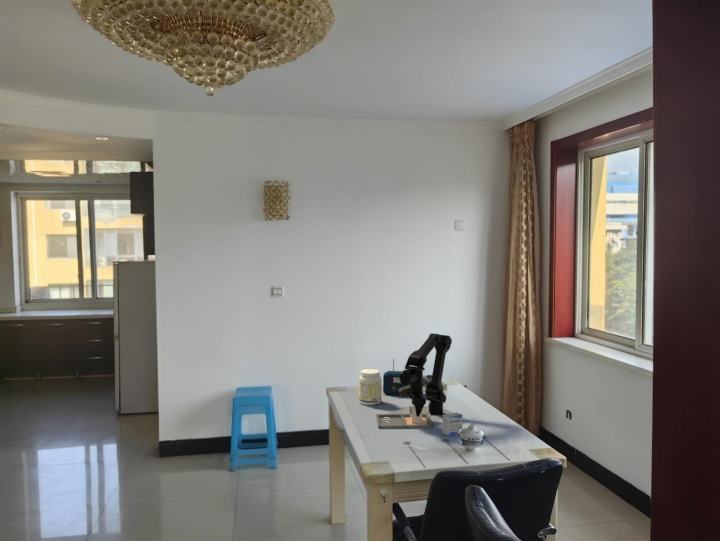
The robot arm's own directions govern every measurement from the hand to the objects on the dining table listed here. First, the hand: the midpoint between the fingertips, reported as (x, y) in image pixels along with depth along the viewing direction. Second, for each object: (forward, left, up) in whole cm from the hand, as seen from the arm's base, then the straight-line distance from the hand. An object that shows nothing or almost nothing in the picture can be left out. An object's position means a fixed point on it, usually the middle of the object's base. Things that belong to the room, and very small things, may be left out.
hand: (416, 413), depth 248 cm
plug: (0, 0, -4) cm, 4 cm away
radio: (+1, -49, -5) cm, 49 cm away
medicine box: (-14, +15, -5) cm, 21 cm away
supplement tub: (+20, -33, -4) cm, 39 cm away
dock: (+6, 0, -4) cm, 7 cm away
